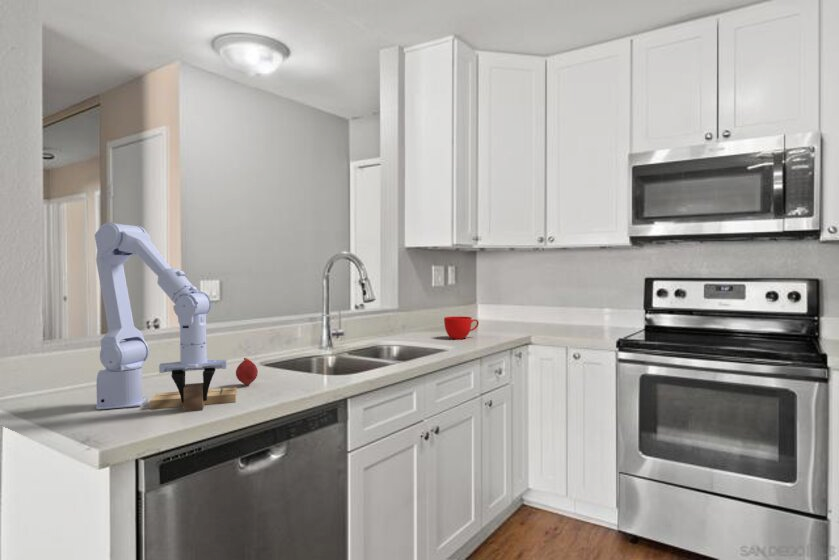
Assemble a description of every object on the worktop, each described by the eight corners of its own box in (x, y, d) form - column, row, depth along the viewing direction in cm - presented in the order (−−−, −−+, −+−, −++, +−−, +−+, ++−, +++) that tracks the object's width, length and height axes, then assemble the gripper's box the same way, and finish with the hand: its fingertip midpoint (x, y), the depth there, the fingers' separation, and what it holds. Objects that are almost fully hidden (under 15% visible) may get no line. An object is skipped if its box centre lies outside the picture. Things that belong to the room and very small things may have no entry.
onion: (250, 382, 150) (250, 355, 150) (261, 385, 146) (261, 357, 146) (232, 385, 145) (231, 357, 145) (243, 388, 142) (243, 359, 142)
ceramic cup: (483, 339, 240) (483, 318, 240) (449, 341, 235) (449, 319, 235) (473, 336, 252) (473, 315, 252) (440, 337, 248) (440, 317, 248)
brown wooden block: (183, 411, 119) (183, 387, 118) (189, 401, 127) (188, 379, 127) (202, 410, 120) (202, 386, 120) (206, 400, 129) (206, 378, 129)
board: (150, 409, 121) (149, 400, 121) (156, 401, 129) (156, 392, 129) (235, 402, 127) (235, 393, 127) (236, 394, 134) (236, 387, 134)
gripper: (156, 347, 115) (157, 407, 116) (225, 344, 120) (226, 402, 120) (161, 343, 122) (162, 400, 122) (226, 340, 126) (227, 395, 127)
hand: (194, 400), depth 122 cm, fingers closed on brown wooden block, 4 cm apart
